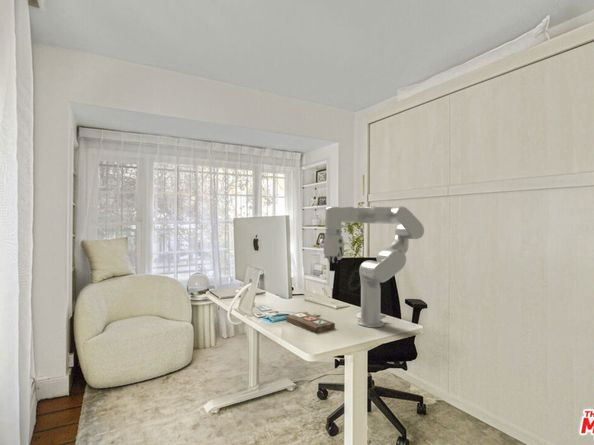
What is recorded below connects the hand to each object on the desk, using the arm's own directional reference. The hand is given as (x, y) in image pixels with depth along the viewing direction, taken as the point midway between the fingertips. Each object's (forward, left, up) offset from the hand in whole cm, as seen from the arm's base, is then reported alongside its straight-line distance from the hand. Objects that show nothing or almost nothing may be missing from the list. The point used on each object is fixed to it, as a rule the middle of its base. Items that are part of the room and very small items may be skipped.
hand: (333, 270), depth 158 cm
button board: (+6, -10, -27) cm, 30 cm away
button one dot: (+6, -18, -27) cm, 33 cm away
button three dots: (+6, -2, -27) cm, 28 cm away
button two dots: (+6, -10, -27) cm, 29 cm away
